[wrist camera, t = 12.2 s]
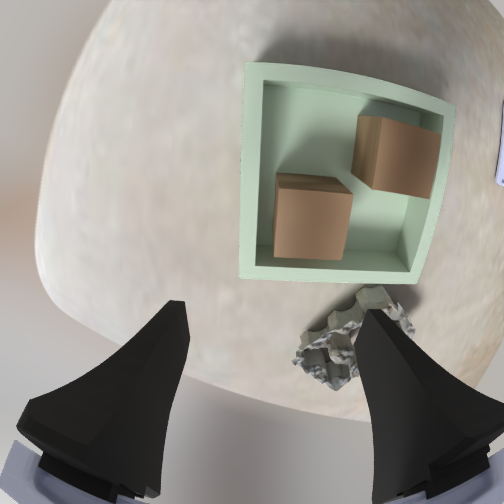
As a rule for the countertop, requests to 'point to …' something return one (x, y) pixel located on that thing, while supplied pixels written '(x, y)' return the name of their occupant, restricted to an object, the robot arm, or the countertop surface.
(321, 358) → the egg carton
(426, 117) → the dish
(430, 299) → the countertop surface
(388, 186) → the block
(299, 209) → the block
